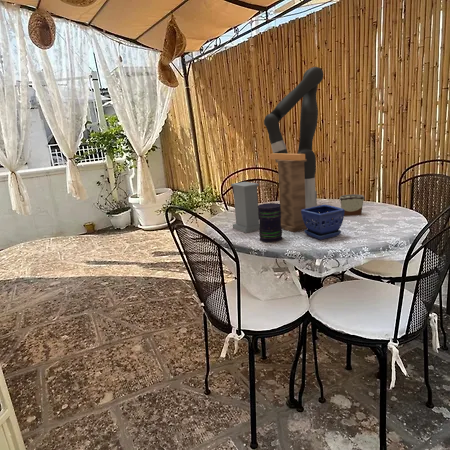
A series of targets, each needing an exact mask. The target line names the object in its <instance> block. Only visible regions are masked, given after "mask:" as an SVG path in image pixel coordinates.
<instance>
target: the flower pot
mask: <svg viewBox="0 0 450 450" xmlns="http://www.w3.org/2000/svg"><path fill="white" fill-rule="evenodd" d="M301 214H302V218H303V221H304V224H305V226H306V228H307V229H304V230H303V231H304V234H306V235H307V236H310V237H311V238H315V239H317V240H320V241H321V240H325V239H330V238H333V237H337V236H339V235H340V234H342V230H340V228H341V226H342V224H343V221H344V219H345V216H344V209H342V208H341V207H338V206H333V205H328V204H321V205H317V206H315V207H311V208H306V209H302V210H301Z"/></svg>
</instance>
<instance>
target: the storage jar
mask: <svg viewBox="0 0 450 450" xmlns="http://www.w3.org/2000/svg"><path fill="white" fill-rule="evenodd" d="M280 207H281V205H280V203H277V202H269V203H268V202H266V203H261V204H258V218H259V224H260V227H259V230H258V232H259V241H260V242H263V243H276V242H280V241H282V240H283V229H282V226H281V208H280Z"/></svg>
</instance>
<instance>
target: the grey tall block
mask: <svg viewBox="0 0 450 450" xmlns="http://www.w3.org/2000/svg"><path fill="white" fill-rule="evenodd" d="M259 186H260V184H259V183H256V182H255V183H254V182H249V181H242V182H235V183H231V184H230V187H232V189H233V201H234V203H233V204H234V212H235V213H234V215H235V223H233V224H232V229H234V230H237V231H240V232H242V233H245V234H247V233H250V232H251V233H252V232H255V231H259V227H260V224H259V218H258V205H259V201H258V187H259Z"/></svg>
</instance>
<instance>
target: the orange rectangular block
mask: <svg viewBox="0 0 450 450" xmlns="http://www.w3.org/2000/svg"><path fill="white" fill-rule="evenodd" d="M268 155H269V160H275V159H276V160H299V161H300V160H305V154H297V153H288V154H284V153H273V152H272V153H269V154H268ZM276 160H275V161H276Z"/></svg>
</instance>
